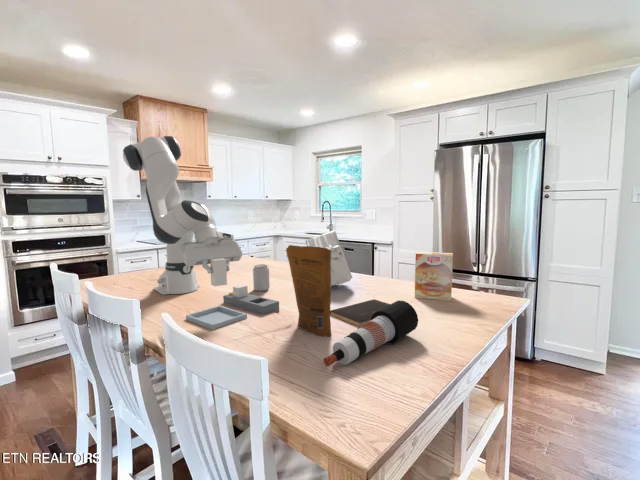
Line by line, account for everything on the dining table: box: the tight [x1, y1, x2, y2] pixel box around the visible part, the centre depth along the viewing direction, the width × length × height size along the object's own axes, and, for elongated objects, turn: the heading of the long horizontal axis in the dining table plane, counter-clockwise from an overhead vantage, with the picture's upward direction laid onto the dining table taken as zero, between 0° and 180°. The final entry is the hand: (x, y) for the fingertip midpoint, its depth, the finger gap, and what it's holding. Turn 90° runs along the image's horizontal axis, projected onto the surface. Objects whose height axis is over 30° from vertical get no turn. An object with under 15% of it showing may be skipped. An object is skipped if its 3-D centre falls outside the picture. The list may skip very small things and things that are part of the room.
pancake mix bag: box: [285, 244, 333, 337], centre depth 109 cm, size 7×19×28 cm, turn 43°
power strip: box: [222, 284, 280, 316], centre depth 134 cm, size 24×8×8 cm, turn 52°
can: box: [252, 264, 270, 292], centre depth 162 cm, size 8×8×12 cm
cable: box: [323, 300, 419, 367], centre depth 95 cm, size 10×34×10 cm, turn 133°
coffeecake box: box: [414, 251, 454, 302], centre depth 146 cm, size 15×7×20 cm, turn 68°
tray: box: [185, 305, 248, 331], centre depth 120 cm, size 16×14×2 cm
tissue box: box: [305, 229, 353, 287], centre depth 168 cm, size 21×17×26 cm
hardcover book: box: [330, 299, 391, 327], centre depth 127 cm, size 16×23×2 cm
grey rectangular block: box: [209, 258, 228, 287], centre depth 118 cm, size 4×4×9 cm
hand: (219, 271), depth 118 cm, fingers closed on grey rectangular block, 4 cm apart
